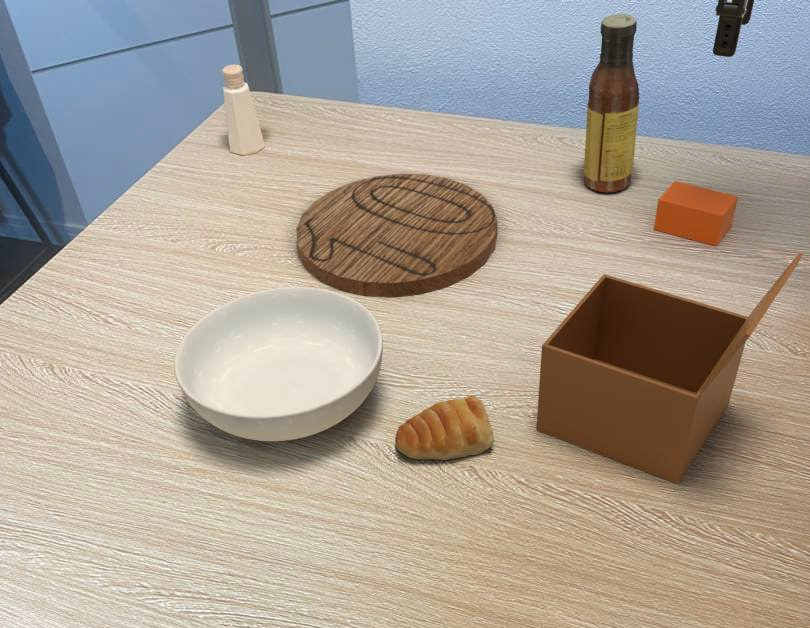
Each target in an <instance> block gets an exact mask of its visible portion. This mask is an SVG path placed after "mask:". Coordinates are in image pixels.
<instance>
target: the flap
mask: <svg viewBox="0 0 810 628" xmlns="http://www.w3.org/2000/svg"><path fill="white" fill-rule="evenodd" d="M803 256H804V253H803V252H801V251H798V253H797V254H796V255H795V257H794V258H793V260H791V262H790V263H789V265H788V266H787V267H786V268H785V269H784V271H783V272H782V273H781V274H780V276H779V277H778V278H777V279H776V280H775V282H774V283H773V285H772V286H771V287H770V288H769V290H768V291H767V292H766V293H765V294H764V296H763V297H762V298H761V299H760V301H759V302H758V303H757V305H756V306H754V308H753V309H752V311H751V312H750V314H749V315H748V316H747V317H748V318H747V320H746V321H745V323H744V324H743V326H742V327H741V329H740V330H739V332H738V333H737V335H736V336H735V338H734V339H733V341H732V342H731V344H730V345H729V347H728V348H727V350H726V351H725V352H724V354H723V355H722V357H721V358H720V360H719V361H718V363H717V364H716V366H715V367H714V369H713V370H712V372H711V373H710V375H709V376H708V378H707V379H706V381H705V382H704V384H703V385H702V387H701V388H700V390H699V391H700V392H701V393H704V391H705V390H706V389H707V388H708V386H709V385H710V384H711V383H712V382H713V380H714V379H715V378H716V377H717V376H718V374H719V373H720V372H721V371H722V370H723V368H724V367H725V366H726V365H727V363H728V362H729V361H730V360H731V359H732V357H733V356H734V355H735V354H736V353H737V351H738V350H739V349H740V348H741V347H742V345H743V344H744V343H745V342H746V343H747V341H748V340H749V338H750V337H752V334H753V332H754V331H755V330H756V328H757V326H758V325H759V323H760V322H761V321H762V318H764V316H765V315H766V313H767V311H768V310H769V308H770V307H771V305H772V304H773V302H774V300H776V297H778V294H779V293H780V292H781V290H782V289H783V287H784V285H785V284H786V283H787V281H788V279H789V277H790V276H791V275H792V273H793V272H794V270H795V269H796V267H797V266H798V264H799V263H800V262H801V259H802V258H803ZM746 343H745V344H746Z"/></svg>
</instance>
